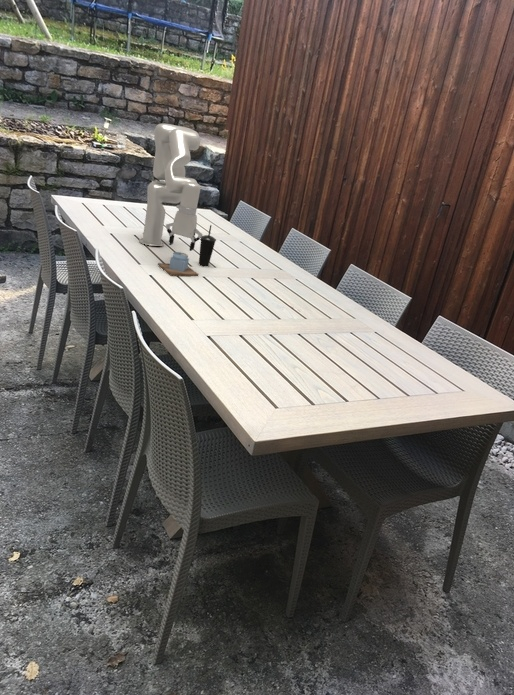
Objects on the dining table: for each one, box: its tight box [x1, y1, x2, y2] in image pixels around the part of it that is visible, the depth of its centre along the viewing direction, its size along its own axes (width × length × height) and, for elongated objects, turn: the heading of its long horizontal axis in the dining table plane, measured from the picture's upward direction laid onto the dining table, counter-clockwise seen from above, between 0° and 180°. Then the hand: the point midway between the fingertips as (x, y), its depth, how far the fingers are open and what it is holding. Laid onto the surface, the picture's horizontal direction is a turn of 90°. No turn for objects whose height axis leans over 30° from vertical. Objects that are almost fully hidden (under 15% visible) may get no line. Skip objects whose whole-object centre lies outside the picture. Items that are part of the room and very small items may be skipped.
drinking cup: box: [198, 224, 217, 267], centre depth 283 cm, size 8×8×20 cm
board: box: [157, 262, 199, 277], centre depth 269 cm, size 14×14×1 cm
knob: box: [169, 251, 190, 272], centre depth 267 cm, size 7×7×7 cm
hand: (181, 247), depth 265 cm, fingers open, 9 cm apart
